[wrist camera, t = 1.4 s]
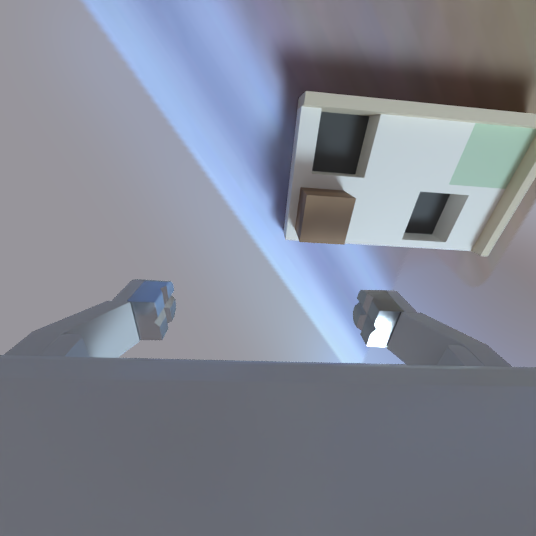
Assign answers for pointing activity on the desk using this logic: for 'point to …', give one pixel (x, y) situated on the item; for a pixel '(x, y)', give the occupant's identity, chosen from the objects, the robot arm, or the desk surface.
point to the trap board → (414, 168)
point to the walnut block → (323, 215)
